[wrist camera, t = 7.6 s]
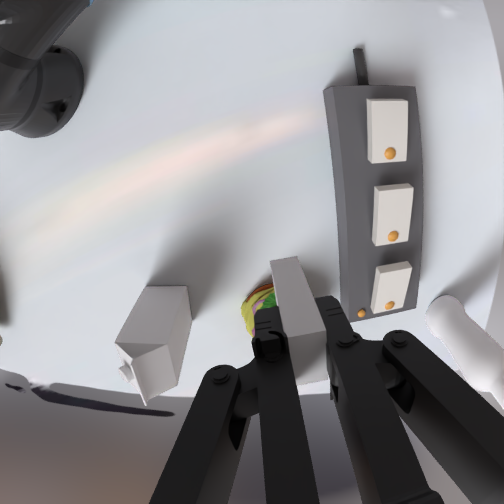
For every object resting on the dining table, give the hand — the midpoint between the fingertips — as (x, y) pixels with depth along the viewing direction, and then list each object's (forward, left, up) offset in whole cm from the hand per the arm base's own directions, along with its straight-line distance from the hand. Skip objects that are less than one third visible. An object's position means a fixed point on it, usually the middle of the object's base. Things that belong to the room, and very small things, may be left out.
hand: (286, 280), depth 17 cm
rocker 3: (+15, +16, -21) cm, 31 cm away
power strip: (+1, +16, -28) cm, 33 cm away
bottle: (+27, +31, -28) cm, 50 cm away
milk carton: (+16, -18, -28) cm, 37 cm away
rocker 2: (+4, +16, -21) cm, 27 cm away
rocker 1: (-7, +16, -21) cm, 28 cm away
